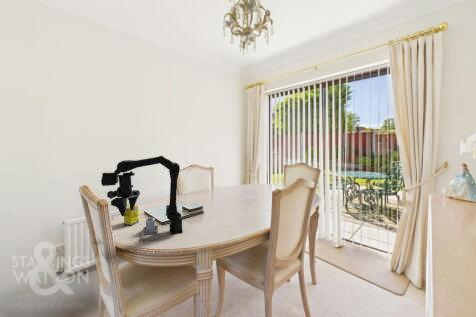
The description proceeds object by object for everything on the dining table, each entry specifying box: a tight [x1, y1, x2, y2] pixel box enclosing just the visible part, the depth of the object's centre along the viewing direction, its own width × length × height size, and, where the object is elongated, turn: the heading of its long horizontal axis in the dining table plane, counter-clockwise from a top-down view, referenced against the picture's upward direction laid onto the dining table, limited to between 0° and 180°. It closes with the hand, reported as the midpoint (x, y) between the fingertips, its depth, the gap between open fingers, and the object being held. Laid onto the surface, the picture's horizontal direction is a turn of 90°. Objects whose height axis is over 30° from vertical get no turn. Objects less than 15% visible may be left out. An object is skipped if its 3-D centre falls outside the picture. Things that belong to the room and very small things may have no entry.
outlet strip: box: [139, 224, 159, 242], centre depth 117 cm, size 9×15×2 cm, turn 19°
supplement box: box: [123, 204, 139, 227], centre depth 130 cm, size 6×6×11 cm
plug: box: [145, 217, 156, 232], centre depth 120 cm, size 4×4×8 cm
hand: (127, 212), depth 112 cm, fingers open, 9 cm apart
